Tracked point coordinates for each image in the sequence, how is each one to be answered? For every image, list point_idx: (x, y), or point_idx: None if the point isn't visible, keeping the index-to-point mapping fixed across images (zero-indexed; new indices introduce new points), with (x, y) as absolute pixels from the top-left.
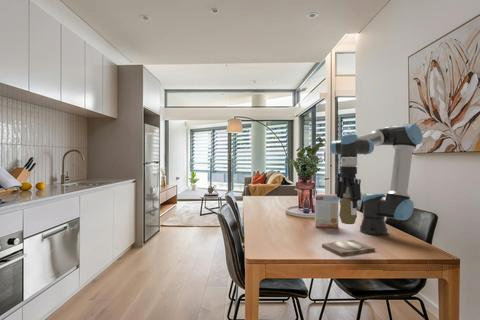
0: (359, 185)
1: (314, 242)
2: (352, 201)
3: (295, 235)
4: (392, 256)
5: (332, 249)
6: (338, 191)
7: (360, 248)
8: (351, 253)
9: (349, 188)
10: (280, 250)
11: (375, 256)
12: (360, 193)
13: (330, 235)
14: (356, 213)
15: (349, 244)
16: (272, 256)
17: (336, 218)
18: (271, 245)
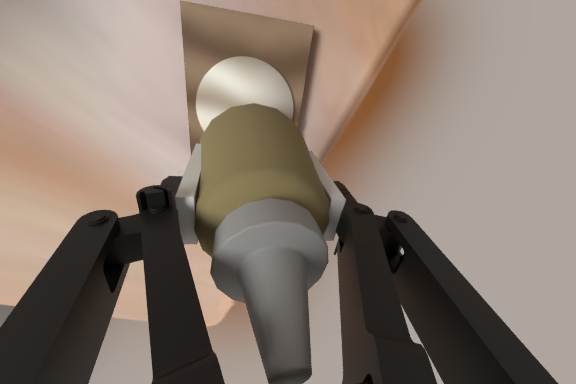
0: (533, 375)
1: (136, 165)
2: (334, 234)
3: (11, 177)
4: (376, 20)
5: None
6: (105, 315)
7: (290, 92)
8: None
9: (308, 339)
10: None
11: (342, 82)
12: (446, 259)
13: (11, 3)
14: (300, 135)
15: (243, 99)
16: (221, 298)
17: None
18: (141, 281)
